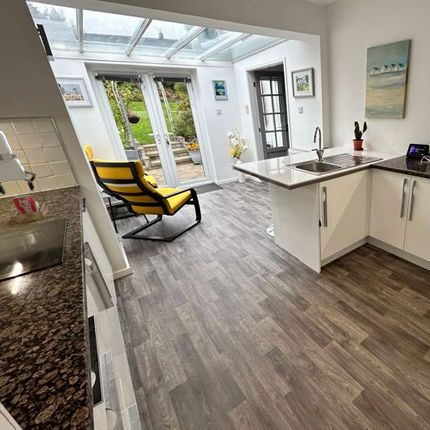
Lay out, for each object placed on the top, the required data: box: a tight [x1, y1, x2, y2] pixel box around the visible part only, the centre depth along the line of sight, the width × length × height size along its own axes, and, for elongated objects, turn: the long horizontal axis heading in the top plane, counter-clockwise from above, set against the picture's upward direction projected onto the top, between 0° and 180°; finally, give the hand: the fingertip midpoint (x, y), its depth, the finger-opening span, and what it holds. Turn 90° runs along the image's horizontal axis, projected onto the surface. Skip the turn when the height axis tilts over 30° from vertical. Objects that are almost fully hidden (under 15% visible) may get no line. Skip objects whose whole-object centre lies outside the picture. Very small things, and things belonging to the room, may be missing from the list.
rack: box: [13, 202, 49, 225], centre depth 139 cm, size 10×19×5 cm, turn 41°
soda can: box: [13, 193, 39, 215], centre depth 134 cm, size 7×7×12 cm
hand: (18, 192), depth 131 cm, fingers open, 9 cm apart
